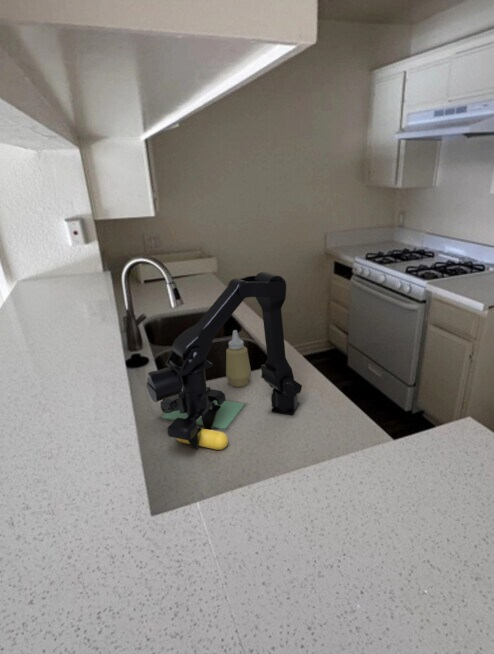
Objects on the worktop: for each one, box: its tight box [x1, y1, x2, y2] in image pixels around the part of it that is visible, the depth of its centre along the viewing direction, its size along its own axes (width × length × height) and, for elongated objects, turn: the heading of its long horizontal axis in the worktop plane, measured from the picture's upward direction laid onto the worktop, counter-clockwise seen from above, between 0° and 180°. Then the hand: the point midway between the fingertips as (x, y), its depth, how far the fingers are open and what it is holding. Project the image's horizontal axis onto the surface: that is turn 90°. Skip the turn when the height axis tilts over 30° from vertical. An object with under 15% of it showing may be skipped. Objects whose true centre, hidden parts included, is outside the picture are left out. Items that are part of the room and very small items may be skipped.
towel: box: [161, 400, 246, 431], centre depth 120 cm, size 20×13×1 cm, turn 70°
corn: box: [175, 427, 229, 451], centre depth 105 cm, size 14×4×4 cm, turn 70°
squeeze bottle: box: [225, 329, 252, 388], centre depth 131 cm, size 8×8×18 cm
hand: (201, 440), depth 105 cm, fingers open, 6 cm apart
